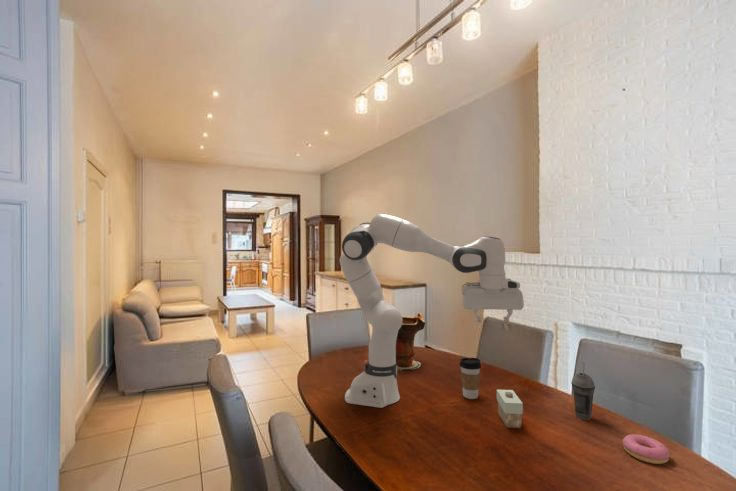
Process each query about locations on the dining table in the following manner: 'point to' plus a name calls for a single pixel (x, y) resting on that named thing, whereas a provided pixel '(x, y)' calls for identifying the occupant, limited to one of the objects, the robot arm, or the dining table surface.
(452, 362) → the dining table surface
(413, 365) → the decorative vase
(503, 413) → the box base
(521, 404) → the lid
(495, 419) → the dining table surface
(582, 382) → the beverage cup
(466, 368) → the coffee cup
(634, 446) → the doughnut
